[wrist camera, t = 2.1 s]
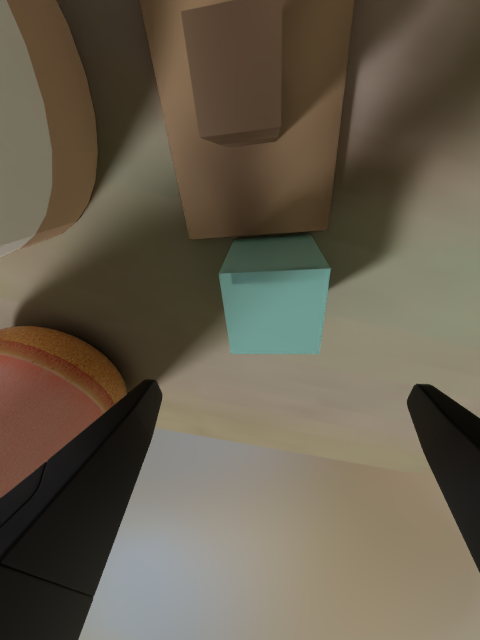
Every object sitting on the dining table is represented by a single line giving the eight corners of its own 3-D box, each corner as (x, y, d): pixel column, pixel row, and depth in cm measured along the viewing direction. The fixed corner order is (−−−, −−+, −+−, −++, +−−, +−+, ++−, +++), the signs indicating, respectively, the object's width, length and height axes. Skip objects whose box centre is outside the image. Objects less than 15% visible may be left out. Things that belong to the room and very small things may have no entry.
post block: (363, -121, 8) (572, -744, 3) (325, 227, 15) (360, 267, 9) (133, -61, 10) (-70, -396, 4) (192, 236, 16) (151, 277, 10)
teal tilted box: (310, 234, 15) (330, 268, 10) (305, 302, 18) (319, 353, 13) (233, 239, 16) (218, 273, 11) (240, 303, 19) (230, 353, 14)
